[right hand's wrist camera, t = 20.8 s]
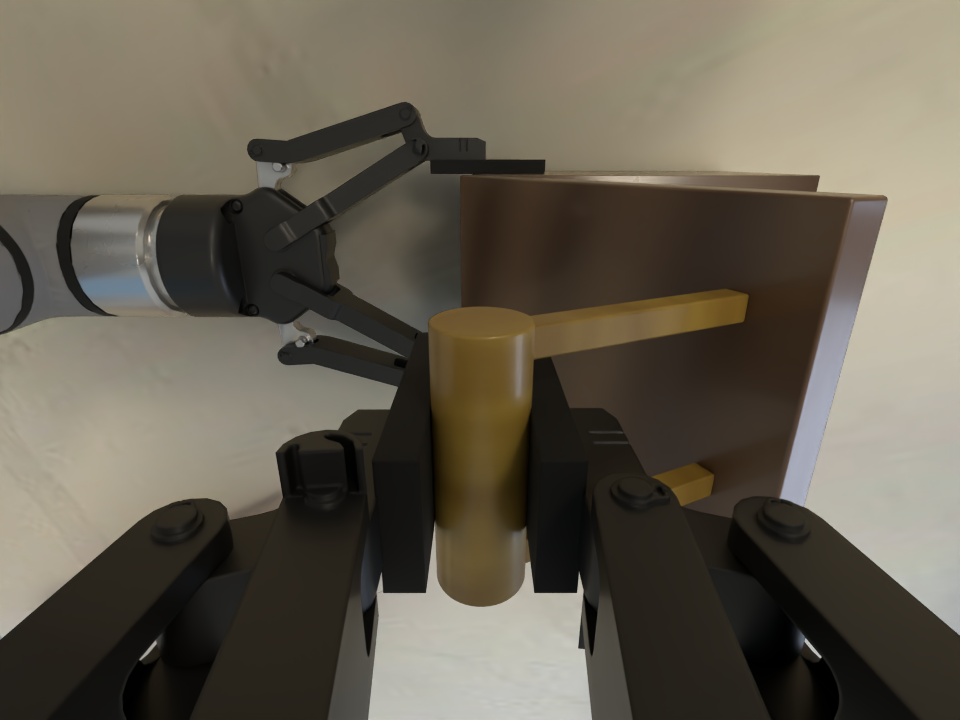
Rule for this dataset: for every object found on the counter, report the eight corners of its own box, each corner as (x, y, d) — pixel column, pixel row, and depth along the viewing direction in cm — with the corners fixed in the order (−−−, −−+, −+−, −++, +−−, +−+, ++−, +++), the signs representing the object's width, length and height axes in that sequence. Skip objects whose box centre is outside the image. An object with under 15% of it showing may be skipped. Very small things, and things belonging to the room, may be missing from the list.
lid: (891, 195, 10) (483, 212, 7) (782, 588, 14) (481, 741, 10) (482, 175, 26) (293, 176, 22) (481, 362, 29) (319, 391, 26)
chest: (725, 171, 36) (820, 175, 26) (703, 310, 40) (778, 361, 30) (475, 171, 36) (471, 174, 26) (476, 309, 40) (472, 360, 30)
